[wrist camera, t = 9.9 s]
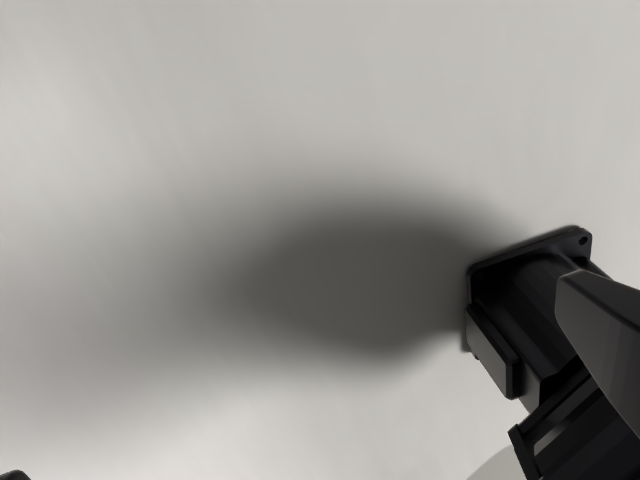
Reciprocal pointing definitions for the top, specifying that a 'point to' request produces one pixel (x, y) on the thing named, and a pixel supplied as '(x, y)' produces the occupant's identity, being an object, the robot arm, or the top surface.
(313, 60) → the top surface
